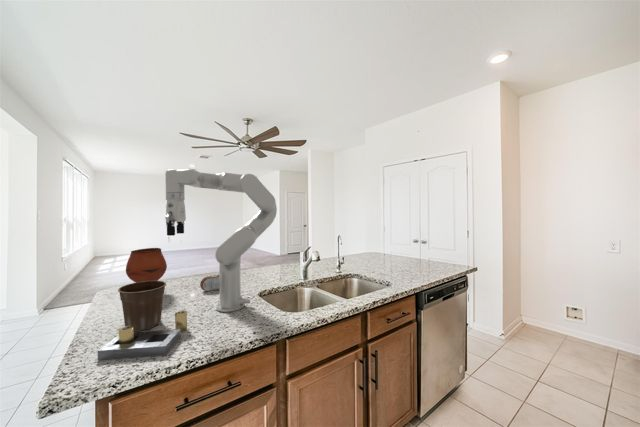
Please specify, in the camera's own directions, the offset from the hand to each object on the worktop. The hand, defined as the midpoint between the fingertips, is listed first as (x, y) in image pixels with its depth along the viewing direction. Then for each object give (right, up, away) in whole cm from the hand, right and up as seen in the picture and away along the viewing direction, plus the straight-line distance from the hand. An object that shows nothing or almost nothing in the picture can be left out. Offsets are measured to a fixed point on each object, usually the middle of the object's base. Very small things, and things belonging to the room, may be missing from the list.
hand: (175, 234), depth 121 cm
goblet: (-30, -36, +25) cm, 53 cm away
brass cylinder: (+12, -36, -19) cm, 42 cm away
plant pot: (-6, -36, -14) cm, 39 cm away
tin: (+5, -35, +33) cm, 48 cm away
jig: (+6, -36, -32) cm, 48 cm away
